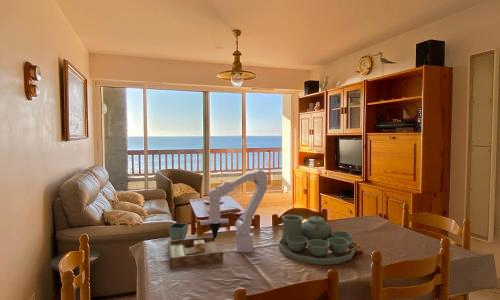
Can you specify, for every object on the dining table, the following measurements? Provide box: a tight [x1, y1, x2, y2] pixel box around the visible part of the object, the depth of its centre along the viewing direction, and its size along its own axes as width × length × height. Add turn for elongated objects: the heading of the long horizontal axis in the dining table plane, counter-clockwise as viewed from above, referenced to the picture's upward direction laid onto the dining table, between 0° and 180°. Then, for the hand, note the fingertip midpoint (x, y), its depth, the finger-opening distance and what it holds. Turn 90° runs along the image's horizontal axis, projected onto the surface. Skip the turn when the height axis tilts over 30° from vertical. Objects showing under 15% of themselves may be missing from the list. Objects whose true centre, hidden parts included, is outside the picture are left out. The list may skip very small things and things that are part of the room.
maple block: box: [194, 240, 205, 252], centre depth 159 cm, size 5×5×4 cm
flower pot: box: [168, 222, 189, 240], centre depth 179 cm, size 9×9×9 cm
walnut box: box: [167, 236, 224, 268], centre depth 159 cm, size 25×24×4 cm
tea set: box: [278, 214, 356, 266], centre depth 166 cm, size 40×40×16 cm
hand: (214, 237), depth 161 cm, fingers closed
